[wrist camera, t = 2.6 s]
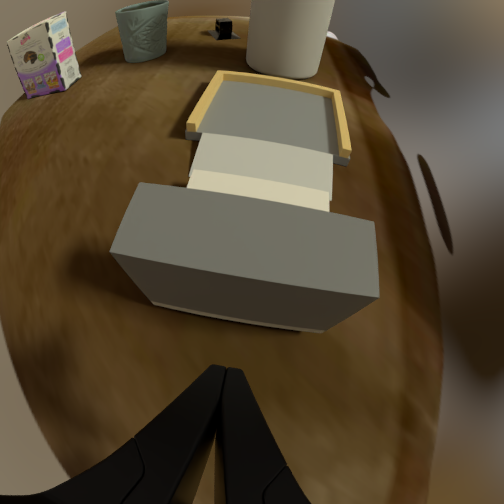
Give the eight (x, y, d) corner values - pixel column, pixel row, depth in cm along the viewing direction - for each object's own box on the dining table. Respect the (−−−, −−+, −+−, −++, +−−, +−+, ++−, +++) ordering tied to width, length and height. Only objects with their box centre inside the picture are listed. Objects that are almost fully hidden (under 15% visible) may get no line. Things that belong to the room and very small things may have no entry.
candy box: (83, 76, 37) (67, 9, 22) (65, 91, 34) (45, 21, 19) (42, 84, 37) (25, 28, 22) (26, 100, 34) (5, 41, 19)
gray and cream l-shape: (316, 336, 19) (379, 297, 11) (157, 309, 19) (109, 251, 11) (321, 206, 25) (357, 128, 16) (195, 185, 25) (186, 99, 16)
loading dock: (347, 209, 26) (359, 189, 23) (170, 179, 26) (165, 156, 23) (335, 108, 35) (341, 91, 32) (216, 87, 35) (216, 70, 32)
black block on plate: (203, 31, 49) (203, 16, 45) (231, 29, 51) (232, 14, 47) (214, 44, 44) (214, 26, 40) (247, 42, 46) (248, 24, 42)
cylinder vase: (324, 85, 37) (358, -46, 15) (247, 78, 36) (262, -66, 13) (307, 58, 42) (330, -47, 20) (244, 52, 41) (255, -59, 19)
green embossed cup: (127, 52, 42) (120, 7, 31) (172, 43, 43) (169, -3, 33) (119, 68, 37) (109, 16, 27) (170, 58, 39) (167, 3, 28)
